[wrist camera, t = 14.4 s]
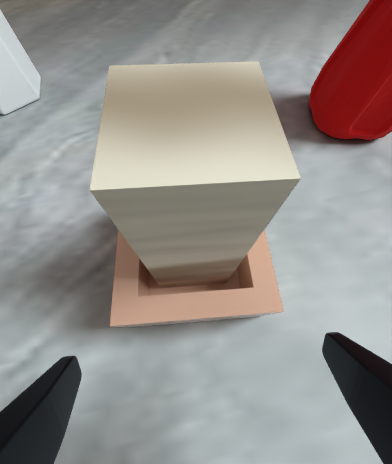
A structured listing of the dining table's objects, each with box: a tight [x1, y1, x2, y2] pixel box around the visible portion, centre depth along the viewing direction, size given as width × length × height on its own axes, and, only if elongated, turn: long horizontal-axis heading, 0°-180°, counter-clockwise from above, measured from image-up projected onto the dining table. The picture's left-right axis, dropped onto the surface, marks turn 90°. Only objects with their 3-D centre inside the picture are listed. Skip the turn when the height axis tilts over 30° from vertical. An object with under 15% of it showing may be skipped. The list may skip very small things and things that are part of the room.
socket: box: [110, 230, 284, 327], centre depth 16 cm, size 10×10×4 cm
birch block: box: [90, 62, 301, 288], centre depth 12 cm, size 5×5×12 cm
